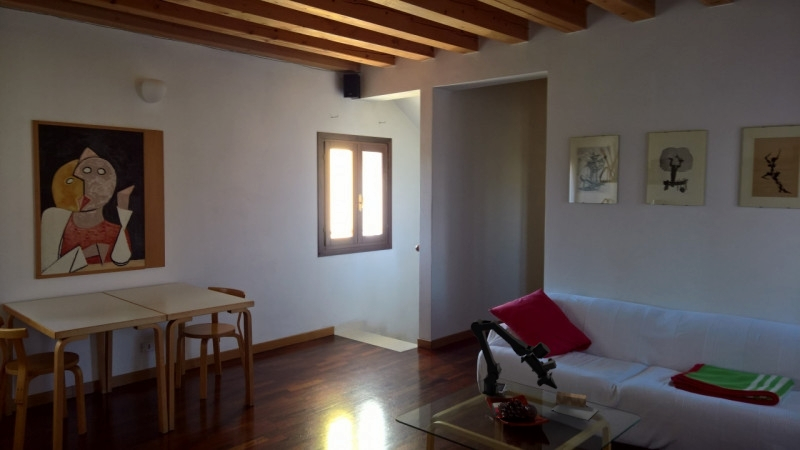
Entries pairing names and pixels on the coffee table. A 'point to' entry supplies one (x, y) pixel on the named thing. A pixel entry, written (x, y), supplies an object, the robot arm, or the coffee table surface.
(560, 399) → the block
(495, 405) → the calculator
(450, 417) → the coffee table surface
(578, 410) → the mat
